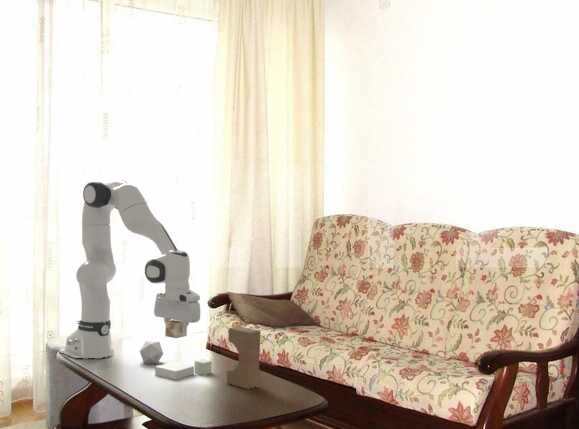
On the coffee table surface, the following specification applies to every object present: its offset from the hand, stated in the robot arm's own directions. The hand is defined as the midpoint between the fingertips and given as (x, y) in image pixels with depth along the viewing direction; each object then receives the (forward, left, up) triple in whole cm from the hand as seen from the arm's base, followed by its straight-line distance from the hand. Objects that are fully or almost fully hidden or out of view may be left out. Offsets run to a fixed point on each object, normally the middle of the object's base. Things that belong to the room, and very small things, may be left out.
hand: (176, 331), depth 269 cm
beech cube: (0, 0, -2) cm, 2 cm away
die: (-19, +7, -16) cm, 26 cm away
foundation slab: (0, 0, -16) cm, 16 cm away
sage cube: (+6, +9, -16) cm, 19 cm away
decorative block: (+27, +6, -16) cm, 32 cm away
